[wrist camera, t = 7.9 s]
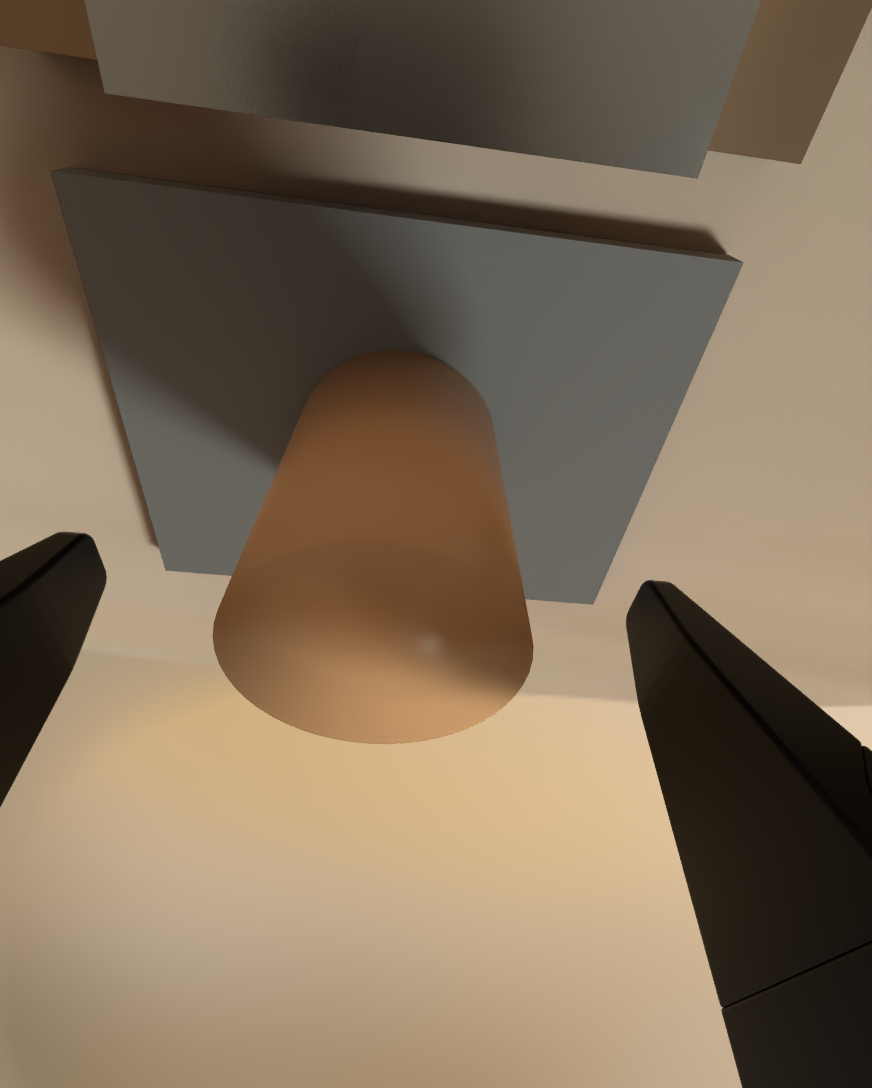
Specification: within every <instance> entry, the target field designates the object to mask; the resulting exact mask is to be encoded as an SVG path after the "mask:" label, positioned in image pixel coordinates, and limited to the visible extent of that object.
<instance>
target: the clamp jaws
mask: <svg viewBox="0 0 872 1088" xmlns="http://www.w3.org/2000/svg"><path fill="white" fill-rule="evenodd" d="M84 1H85V5H86V10H87V15H88V19H89V24H90V28H91V33H92V38H93V42H94V47H95V51H96V56H97V60H98V65H99V70H100V74H101V79H102V83H103V88H104V93H106V94H113V95H120V96H127V97H134V98H140V99H147V100H154V101H161V102H168V103H175V104H182V105H189V106H196V107H203V108H210V109H217V110H224V111H231V112H238V113H245V114H252V115H259V116H266V117H273V118H280V119H287V120H294V121H301V122H308V123H314V124H321V125H328V126H335V127H342V128H349V129H356V130H363V131H370V132H377V133H384V134H391V135H398V136H405V137H412V138H419V139H426V140H433V141H440V142H447V143H454V144H461V145H468V146H475V147H482V148H489V149H495V150H502V151H509V152H516V153H523V154H530V155H537V156H544V157H551V158H558V159H565V160H572V161H579V162H586V163H593V164H600V165H607V166H614V167H621V168H628V169H635V170H642V171H649V172H656V173H663V174H670V175H676V176H683V177H690V178H697V179H698V176H699V173H700V170H701V167H702V165H703V162H704V159H705V156H706V153H707V151H708V148H709V145H710V142H711V139H712V137H713V134H714V131H715V128H716V125H717V123H718V120H719V117H720V114H721V111H722V109H723V106H724V103H725V100H726V97H727V95H728V92H729V89H730V86H731V83H732V81H733V78H734V75H735V72H736V69H737V67H738V64H739V61H740V58H741V55H742V52H743V50H744V47H745V44H746V41H747V38H748V36H749V33H750V30H751V27H752V24H753V22H754V19H755V16H756V13H757V10H758V8H759V5H760V2H761V0H84Z"/></svg>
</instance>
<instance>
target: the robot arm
mask: <svg viewBox="0 0 872 1088" xmlns="http://www.w3.org/2000/svg"><path fill="white" fill-rule="evenodd" d="M106 578H107V576H106V570H105V568H104V565H103V563H102V560H101V557H100V555H99V552H98V550H97V547H96V545H95V542H94V540H93V538H92V537H91V536H90V535H88V534H85V533H75V532H58V533H56V534H54V535H52V536H50V537H48V538H46V539H44V540H42V541H40V542H38V543H36V544H34V545H32V546H30V547H27V548H25V549H23V550H21V551H19V552H17V553H15V554H13V555H11V556H9V557H7V558H5V559H3V560H1V561H0V807H1V805H2V803H3V801H4V799H5V797H6V795H7V793H8V791H9V790H10V788H11V786H12V784H13V782H14V780H15V778H16V776H17V775H18V773H19V771H20V769H21V767H22V765H23V763H24V761H25V759H26V758H27V756H28V754H29V752H30V750H31V748H32V746H33V744H34V742H35V740H36V739H37V737H38V735H39V733H40V731H41V729H42V727H43V725H44V723H45V722H46V720H47V718H48V716H49V714H50V712H51V710H52V708H53V706H54V705H55V702H56V701H57V699H58V697H59V695H60V693H61V691H62V689H63V687H64V685H65V684H66V682H67V680H68V678H69V676H70V674H71V671H72V670H73V667H74V665H75V663H76V660H77V658H78V655H79V653H80V650H81V648H82V645H83V643H84V640H85V637H86V635H87V632H88V630H89V627H90V625H91V622H92V619H93V617H94V614H95V612H96V609H97V606H98V604H99V601H100V599H101V596H102V594H103V591H104V588H105V585H106ZM626 628H627V634H628V641H629V647H630V654H631V660H632V667H633V674H634V680H635V687H636V693H637V698H638V704H639V708H640V712H641V717H642V720H643V724H644V728H645V731H646V735H647V739H648V742H649V746H650V750H651V753H652V757H653V761H654V764H655V768H656V771H657V775H658V779H659V782H660V786H661V790H662V794H663V797H664V801H665V805H666V808H667V812H668V816H669V819H670V823H671V827H672V830H673V833H674V838H675V841H676V845H677V848H678V852H679V856H680V860H681V863H682V867H683V871H684V874H685V878H686V882H687V885H688V889H689V893H690V896H691V900H692V904H693V907H694V911H695V914H696V918H697V922H698V925H699V929H700V933H701V936H702V940H703V944H704V947H705V951H706V954H707V958H708V962H709V965H710V969H711V973H712V977H713V980H714V984H715V987H716V991H717V995H718V999H719V1002H720V1005H721V1007H723V1008H722V1015H723V1018H724V1022H725V1025H726V1029H727V1033H728V1037H729V1040H730V1044H731V1048H732V1051H733V1055H734V1059H735V1062H736V1066H737V1070H738V1073H739V1077H740V1080H741V1084H742V1088H872V751H871V750H870V749H869V748H868V747H866V746H861V742H860V741H859V740H858V739H857V738H855V737H854V736H853V735H852V734H851V733H850V732H848V731H847V730H846V729H845V728H843V727H842V726H841V725H840V724H839V723H838V722H836V721H835V720H834V719H833V718H832V717H830V716H829V715H828V714H827V713H826V712H824V711H823V710H822V709H821V708H820V707H819V706H817V705H816V704H815V703H814V702H813V701H811V700H810V699H809V698H808V697H807V696H805V695H804V694H803V693H802V692H801V691H800V690H798V689H797V688H796V687H795V686H794V685H792V684H791V683H790V682H789V681H788V680H786V679H785V678H784V677H783V676H782V675H781V674H779V673H778V672H777V671H776V670H775V669H773V668H772V667H771V666H770V665H769V664H767V663H766V662H765V661H764V660H763V659H761V658H760V657H759V656H758V655H757V654H756V653H754V652H753V651H752V650H751V649H750V648H748V647H747V646H746V645H745V644H744V643H742V642H741V641H740V640H739V639H738V638H736V637H735V636H734V635H733V634H732V633H731V632H729V631H728V630H727V629H726V628H725V627H723V626H722V625H721V624H720V623H719V622H717V621H716V620H715V619H714V618H713V617H711V616H710V615H709V614H708V613H707V612H706V611H704V610H703V609H702V608H701V607H700V606H698V605H697V604H696V603H695V602H694V601H692V600H691V599H690V598H689V597H688V596H687V595H685V594H684V593H683V592H682V591H681V590H679V589H678V588H677V587H676V586H675V585H673V584H672V583H670V582H666V581H654V580H648V581H645V582H644V583H643V584H642V586H641V587H640V589H639V591H638V593H637V595H636V597H635V599H634V601H633V603H632V605H631V607H630V609H629V611H628V613H627V618H626Z"/></svg>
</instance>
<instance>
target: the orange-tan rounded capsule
mask: <svg viewBox="0 0 872 1088" xmlns="http://www.w3.org/2000/svg"><path fill="white" fill-rule="evenodd" d="M213 642H214V650H215V653H216V656H217V659H218V662H219V664H220V666H221V668H222V670H223V671H224V673H225V675H226V677H227V678H228V679H229V680H230V682H231V683H232V684H233V685H234V687H235V688H236V689H237V690H238V691H239V692H240V693H241V694H242V695H243V696H244V697H245V698H246V699H247V700H249V701H250V702H251V703H253V704H254V705H255V706H256V707H258V708H259V709H261V710H262V711H264V712H266V713H267V714H269V715H270V716H272V717H274V718H276V719H278V720H280V721H282V722H284V723H286V724H289V725H291V726H294V727H296V728H299V729H301V730H304V731H307V732H310V733H313V734H316V735H320V736H324V737H328V738H332V739H338V740H344V741H350V742H358V743H371V744H396V743H410V742H419V741H425V740H430V739H435V738H440V737H443V736H447V735H450V734H454V733H457V732H459V731H462V730H464V729H467V728H469V727H471V726H474V725H476V724H478V723H480V722H482V721H484V720H485V719H487V718H489V717H490V716H492V715H494V714H495V713H496V712H498V711H499V710H500V709H501V708H503V707H504V706H505V705H506V704H507V703H508V702H509V701H510V700H511V699H512V698H513V697H514V696H515V695H516V694H517V692H518V691H519V690H520V688H521V687H522V685H523V684H524V682H525V680H526V678H527V676H528V674H529V671H530V667H531V664H532V660H533V641H532V634H531V628H530V623H529V617H528V612H527V607H526V601H525V596H524V590H523V585H522V579H521V574H520V568H519V563H518V557H517V552H516V547H515V541H514V536H513V530H512V525H511V519H510V514H509V508H508V503H507V497H506V492H505V486H504V481H503V476H502V470H501V465H500V459H499V454H498V448H497V443H496V437H495V432H494V426H493V422H492V419H491V415H490V412H489V410H488V408H487V406H486V404H485V402H484V400H483V398H482V397H481V395H480V394H479V392H478V391H477V389H476V388H475V387H474V386H473V385H472V384H471V383H470V382H469V380H468V379H466V378H465V377H464V376H463V375H462V374H461V373H459V372H458V371H457V370H455V369H454V368H452V367H451V366H449V365H447V364H446V363H444V362H442V361H439V360H437V359H435V358H433V357H430V356H427V355H424V354H420V353H416V352H410V351H402V350H384V351H375V352H370V353H366V354H362V355H359V356H357V357H354V358H351V359H349V360H347V361H345V362H343V363H341V364H340V365H338V366H336V367H335V368H334V369H332V370H331V371H330V372H328V373H327V374H326V375H325V376H324V377H323V378H322V379H321V380H320V381H319V382H318V383H317V385H316V386H315V388H314V389H313V390H312V392H311V393H310V395H309V397H308V399H307V401H306V403H305V405H304V408H303V410H302V412H301V415H300V417H299V420H298V422H297V424H296V427H295V429H294V431H293V434H292V436H291V438H290V441H289V443H288V445H287V448H286V450H285V453H284V455H283V457H282V460H281V462H280V464H279V467H278V469H277V471H276V474H275V476H274V479H273V481H272V483H271V486H270V488H269V490H268V493H267V495H266V497H265V500H264V502H263V504H262V507H261V509H260V512H259V514H258V516H257V519H256V521H255V523H254V526H253V528H252V530H251V533H250V535H249V538H248V540H247V542H246V545H245V547H244V549H243V552H242V554H241V556H240V559H239V561H238V563H237V566H236V568H235V571H234V573H233V575H232V578H231V580H230V582H229V585H228V587H227V589H226V592H225V594H224V596H223V599H222V601H221V604H220V606H219V608H218V611H217V614H216V618H215V621H214V628H213Z"/></svg>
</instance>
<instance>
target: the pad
mask: <svg viewBox="0 0 872 1088" xmlns="http://www.w3.org/2000/svg"><path fill="white" fill-rule="evenodd" d="M50 172H51V175H52V179H53V182H54V185H55V189H56V192H57V196H58V199H59V203H60V206H61V210H62V213H63V217H64V220H65V224H66V227H67V230H68V234H69V237H70V241H71V244H72V248H73V251H74V255H75V258H76V262H77V265H78V269H79V272H80V275H81V279H82V282H83V286H84V289H85V293H86V296H87V300H88V303H89V307H90V310H91V314H92V317H93V320H94V324H95V327H96V331H97V334H98V338H99V341H100V345H101V348H102V352H103V355H104V359H105V362H106V365H107V369H108V372H109V376H110V379H111V383H112V386H113V390H114V393H115V397H116V400H117V404H118V407H119V410H120V414H121V417H122V421H123V424H124V428H125V431H126V435H127V438H128V442H129V445H130V449H131V452H132V455H133V459H134V462H135V466H136V469H137V473H138V476H139V480H140V483H141V487H142V490H143V494H144V497H145V500H146V504H147V507H148V511H149V514H150V518H151V521H152V525H153V528H154V532H155V535H156V539H157V542H158V545H159V549H160V552H161V556H162V559H163V563H164V566H165V570H167V571H179V572H192V573H204V574H217V575H230V576H232V575H233V573H234V571H235V568H236V566H237V563H238V561H239V559H240V556H241V554H242V552H243V549H244V547H245V545H246V542H247V540H248V538H249V535H250V533H251V530H252V528H253V526H254V523H255V521H256V519H257V516H258V514H259V512H260V509H261V507H262V504H263V502H264V500H265V497H266V495H267V493H268V490H269V488H270V486H271V483H272V481H273V479H274V476H275V474H276V471H277V469H278V467H279V464H280V462H281V460H282V457H283V455H284V453H285V450H286V448H287V445H288V443H289V441H290V438H291V436H292V434H293V431H294V429H295V427H296V424H297V422H298V420H299V417H300V415H301V412H302V410H303V408H304V405H305V403H306V401H307V399H308V397H309V395H310V393H311V392H312V390H313V389H314V388H315V386H316V385H317V383H318V382H319V381H320V380H321V379H322V378H323V377H324V376H325V375H326V374H327V373H328V372H330V371H331V370H332V369H334V368H335V367H336V366H338V365H340V364H341V363H343V362H345V361H347V360H349V359H351V358H354V357H357V356H359V355H362V354H366V353H370V352H375V351H384V350H402V351H410V352H416V353H420V354H424V355H427V356H430V357H433V358H435V359H437V360H439V361H442V362H444V363H446V364H447V365H449V366H451V367H452V368H454V369H455V370H457V371H458V372H459V373H461V374H462V375H463V376H464V377H465V378H466V379H468V380H469V382H470V383H471V384H472V385H473V386H474V387H475V388H476V389H477V391H478V392H479V394H480V395H481V397H482V398H483V400H484V402H485V404H486V406H487V408H488V410H489V412H490V415H491V419H492V422H493V426H494V432H495V437H496V443H497V448H498V454H499V459H500V465H501V470H502V476H503V481H504V486H505V492H506V497H507V503H508V508H509V514H510V519H511V525H512V530H513V536H514V541H515V547H516V552H517V557H518V563H519V568H520V574H521V579H522V585H523V590H524V596H525V599H531V600H543V601H556V602H568V603H581V604H594V602H595V599H596V597H597V595H598V592H599V590H600V588H601V586H602V583H603V581H604V579H605V577H606V574H607V572H608V570H609V567H610V565H611V563H612V561H613V558H614V556H615V554H616V551H617V549H618V547H619V545H620V542H621V540H622V538H623V536H624V533H625V531H626V529H627V526H628V524H629V522H630V520H631V517H632V515H633V513H634V511H635V508H636V506H637V504H638V501H639V499H640V497H641V495H642V492H643V490H644V488H645V485H646V483H647V481H648V479H649V476H650V474H651V472H652V470H653V467H654V465H655V463H656V460H657V458H658V456H659V454H660V451H661V449H662V447H663V445H664V442H665V440H666V438H667V435H668V433H669V431H670V429H671V426H672V424H673V422H674V420H675V417H676V415H677V413H678V410H679V408H680V406H681V404H682V401H683V399H684V397H685V394H686V392H687V390H688V388H689V385H690V383H691V381H692V379H693V376H694V374H695V372H696V369H697V367H698V365H699V363H700V360H701V358H702V356H703V354H704V351H705V349H706V347H707V344H708V342H709V340H710V338H711V335H712V333H713V331H714V328H715V326H716V324H717V322H718V319H719V317H720V315H721V313H722V310H723V308H724V306H725V303H726V301H727V299H728V297H729V294H730V292H731V290H732V288H733V285H734V283H735V281H736V278H737V276H738V274H739V272H740V269H741V267H742V265H743V262H741V261H739V260H737V259H736V258H734V257H732V256H730V255H724V254H716V253H709V252H701V251H694V250H686V249H679V248H671V247H664V246H656V245H649V244H641V243H634V242H626V241H619V240H611V239H604V238H596V237H589V236H581V235H574V234H566V233H558V232H551V231H543V230H536V229H528V228H521V227H513V226H506V225H498V224H491V223H483V222H476V221H468V220H461V219H453V218H446V217H438V216H431V215H423V214H416V213H408V212H401V211H393V210H386V209H378V208H370V207H363V206H355V205H348V204H340V203H333V202H325V201H318V200H310V199H303V198H295V197H288V196H280V195H273V194H265V193H258V192H250V191H243V190H235V189H228V188H220V187H213V186H205V185H198V184H190V183H182V182H175V181H167V180H160V179H152V178H145V177H137V176H130V175H122V174H115V173H107V172H100V171H92V170H85V169H77V168H70V167H69V168H64V169H59V170H53V171H50Z"/></svg>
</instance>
